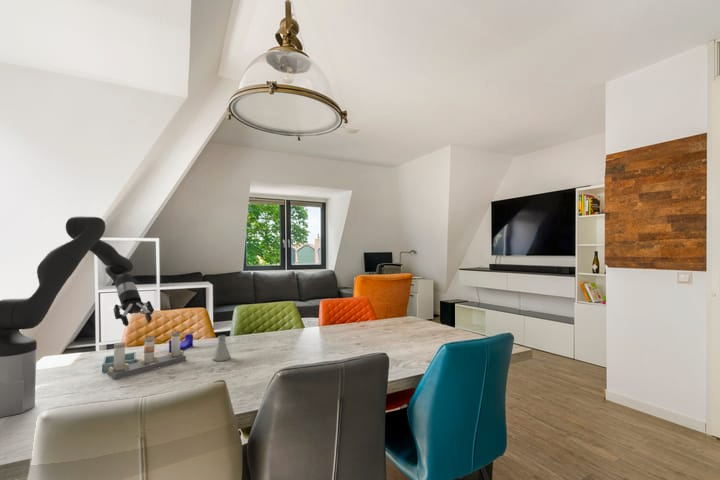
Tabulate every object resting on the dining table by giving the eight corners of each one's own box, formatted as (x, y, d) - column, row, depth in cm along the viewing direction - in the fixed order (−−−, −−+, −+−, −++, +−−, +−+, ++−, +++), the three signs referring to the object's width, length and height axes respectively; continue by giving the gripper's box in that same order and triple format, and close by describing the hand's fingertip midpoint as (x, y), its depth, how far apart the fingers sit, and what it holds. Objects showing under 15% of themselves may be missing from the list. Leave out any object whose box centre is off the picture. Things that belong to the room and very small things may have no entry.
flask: (209, 360, 145) (209, 337, 146) (222, 355, 152) (223, 333, 152) (220, 362, 142) (220, 339, 142) (233, 357, 148) (234, 335, 149)
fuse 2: (180, 356, 145) (181, 332, 145) (171, 357, 143) (171, 334, 143) (179, 354, 147) (180, 331, 148) (170, 355, 145) (171, 332, 146)
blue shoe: (185, 345, 168) (185, 333, 168) (192, 346, 167) (192, 334, 167) (166, 353, 156) (166, 340, 156) (174, 353, 155) (174, 340, 155)
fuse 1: (124, 370, 127) (125, 343, 128) (113, 372, 126) (113, 345, 126) (124, 367, 130) (125, 341, 131) (113, 369, 128) (114, 343, 129)
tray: (135, 366, 137) (135, 359, 137) (102, 372, 131) (102, 364, 131) (135, 359, 147) (135, 352, 147) (104, 363, 141) (104, 356, 141)
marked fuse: (154, 362, 136) (154, 338, 136) (144, 364, 134) (144, 339, 134) (153, 360, 139) (154, 336, 139) (143, 361, 137) (144, 337, 137)
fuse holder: (114, 379, 123) (114, 370, 123) (106, 374, 128) (106, 365, 128) (186, 360, 145) (186, 352, 145) (177, 357, 150) (177, 349, 150)
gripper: (112, 290, 143) (121, 320, 136) (148, 287, 155) (159, 315, 148) (107, 301, 146) (116, 331, 139) (143, 298, 158) (153, 325, 151)
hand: (138, 323), depth 143 cm, fingers open, 8 cm apart
